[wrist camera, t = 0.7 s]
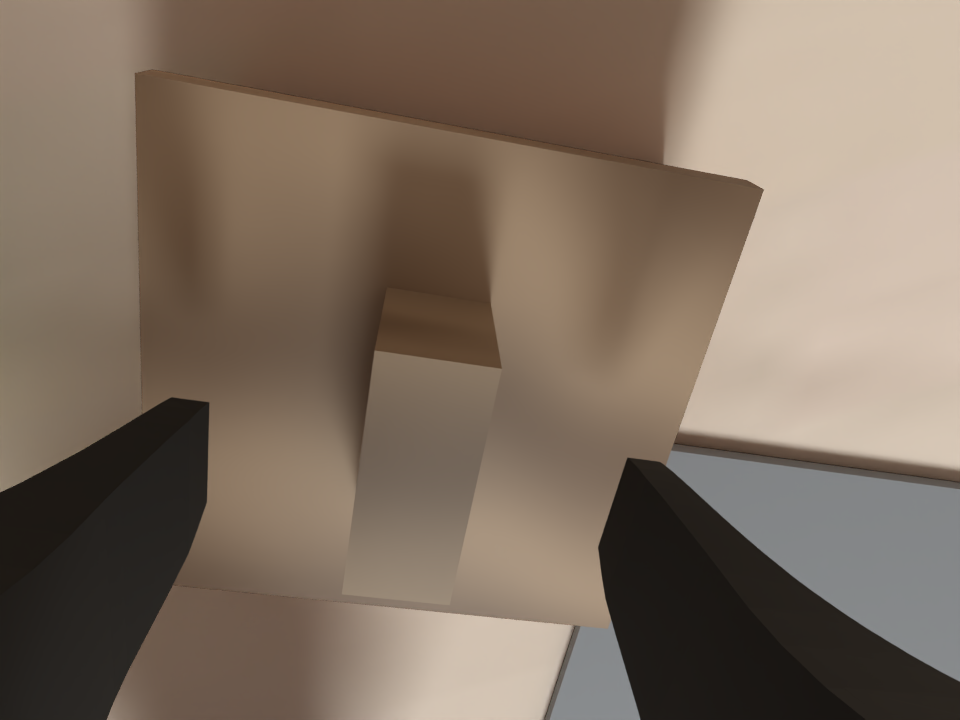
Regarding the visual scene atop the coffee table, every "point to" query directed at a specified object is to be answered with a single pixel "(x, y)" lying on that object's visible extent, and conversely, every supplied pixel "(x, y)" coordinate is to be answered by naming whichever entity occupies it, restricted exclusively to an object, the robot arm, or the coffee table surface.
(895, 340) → the coffee table surface
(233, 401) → the lid
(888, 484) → the mat
